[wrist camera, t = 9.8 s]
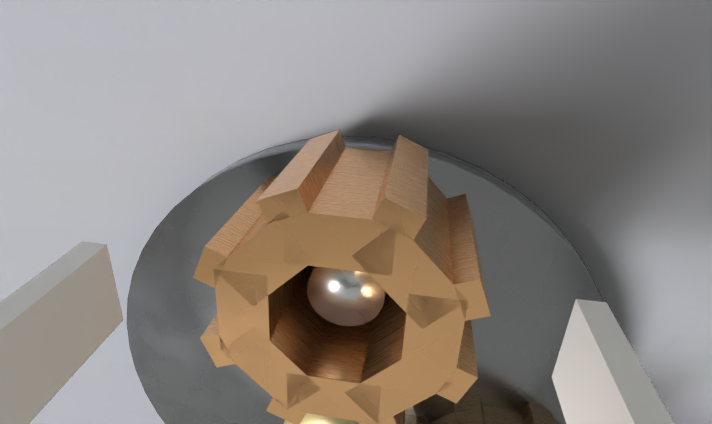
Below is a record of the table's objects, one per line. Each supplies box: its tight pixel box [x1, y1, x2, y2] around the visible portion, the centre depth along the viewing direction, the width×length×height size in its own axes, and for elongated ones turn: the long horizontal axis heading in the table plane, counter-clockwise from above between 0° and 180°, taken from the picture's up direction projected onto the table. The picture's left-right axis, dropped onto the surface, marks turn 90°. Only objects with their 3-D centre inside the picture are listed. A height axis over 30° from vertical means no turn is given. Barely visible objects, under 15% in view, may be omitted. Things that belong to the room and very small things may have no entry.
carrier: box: [127, 137, 603, 424], centre depth 20 cm, size 23×23×8 cm
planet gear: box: [193, 130, 491, 424], centre depth 16 cm, size 8×8×6 cm
